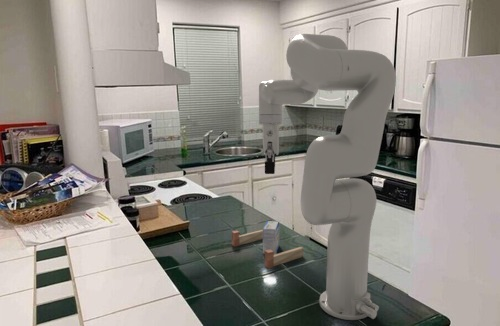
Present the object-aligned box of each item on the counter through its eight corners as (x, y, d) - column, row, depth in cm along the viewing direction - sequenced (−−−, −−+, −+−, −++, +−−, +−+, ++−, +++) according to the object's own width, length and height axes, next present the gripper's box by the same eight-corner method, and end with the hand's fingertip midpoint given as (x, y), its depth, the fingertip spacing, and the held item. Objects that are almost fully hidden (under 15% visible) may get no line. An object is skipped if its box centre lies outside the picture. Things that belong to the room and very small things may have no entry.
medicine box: (276, 255, 118) (276, 229, 117) (262, 254, 119) (262, 228, 118) (279, 245, 126) (279, 221, 124) (266, 244, 127) (266, 220, 125)
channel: (303, 257, 117) (303, 242, 116) (268, 268, 109) (268, 252, 108) (264, 236, 134) (264, 223, 133) (231, 245, 126) (231, 231, 125)
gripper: (281, 121, 111) (281, 176, 115) (281, 117, 128) (281, 165, 131) (257, 121, 112) (257, 176, 115) (260, 117, 129) (260, 165, 132)
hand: (270, 170), depth 123 cm, fingers open, 9 cm apart
